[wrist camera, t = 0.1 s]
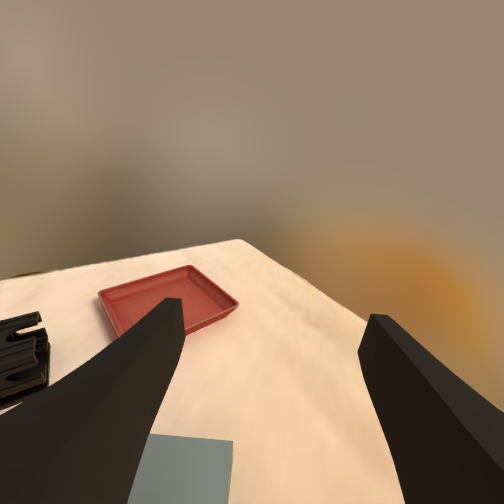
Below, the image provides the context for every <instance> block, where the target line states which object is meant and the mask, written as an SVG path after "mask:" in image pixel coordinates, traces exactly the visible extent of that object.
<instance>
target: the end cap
mask: <svg viewBox="0 0 504 504" xmlns="http://www.w3.org/2000/svg"><path fill="white" fill-rule="evenodd" d="M39 322H42V319H41V316H40V313H39V311H37V312H33V313H29V314H25V315H21V316H17V317H13V318H9V319H5V320H1V321H0V410H3V409H6V408H8V407H11V406H14V405H16V404H19V403H21V402H24V401H26V400H27V399H29V398H31V397H32V396H34V395H36V394H37V393H39V392H41V391H42V390H44V389H46V388H47V387H49V370H50V343H49V342H48V335H47V332H46V329H45V327H44V328H41V329H37V330H34V331H30V332H27V333H23V334H19V333H17V332H16V331H19V330H22V329H25V328H29V327H32V326H36V325H38V323H39Z"/></svg>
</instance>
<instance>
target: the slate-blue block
mask: <svg viewBox="0 0 504 504" xmlns="http://www.w3.org/2000/svg"><path fill="white" fill-rule="evenodd" d="M232 457H233V441H225V440H214V439H203V438H191V437H180V436H169V435H158V434H149V436H148V438H147V441H146V445H145V448H144V451H143V454H142V457H141V460H140V463H139V466H138V469H137V473H136V476H135V479H134V482H133V486H132V489H131V492H130V496H129V499H128V502H127V504H228V499H229V490H230V481H231V472H232Z"/></svg>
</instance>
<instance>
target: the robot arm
mask: <svg viewBox="0 0 504 504" xmlns="http://www.w3.org/2000/svg"><path fill="white" fill-rule="evenodd" d="M185 337H186V336H185V327H184V317H183V307H182V298H169V297H166V298H165V299H163V300H162V301H161V302H160V303H159V304H157V305H156V306H155V307H154V308H153V309H152V310H151V311H149V312H148V313H147V314H146V315H145V316H144V317H143V318H141V319H140V320H139V321H138V322H137V323H136V324H134V325H133V326H132V327H131V328H130V329H128V330H127V331H126V332H125V333H124V334H122V335H121V336H120V337H119V338H117V339H116V340H115V341H114V342H112V343H111V344H110V345H108V346H107V347H106V348H104V349H103V350H102V351H101V352H99V353H98V354H97V355H95V356H94V357H93V358H91V359H90V360H88V361H87V362H86V363H84V364H83V365H81V366H80V367H78V368H77V369H75V370H74V371H72V372H71V373H69V374H68V375H66V376H65V377H63V378H62V379H60V380H59V381H57V382H56V383H54V384H52V385H51V386H49V387H47V388H46V389H44V390H42V391H41V392H39V393H37V394H36V395H34V396H32V397H31V398H29V399H27V400H26V401H24V402H22V403H21V404H19V405H17V406H16V407H14V408H12V409H10V410H9V411H7V412H5V413H3V414H1V415H0V504H127V502H128V499H129V496H130V492H131V489H132V486H133V482H134V479H135V476H136V473H137V469H138V466H139V463H140V460H141V457H142V454H143V451H144V448H145V445H146V441H147V438H148V436H149V433H150V430H151V428H152V425H153V422H154V420H155V418H156V415H157V413H158V410H159V408H160V406H161V403H162V401H163V398H164V396H165V394H166V391H167V389H168V386H169V384H170V382H171V379H172V377H173V374H174V372H175V370H176V367H177V365H178V362H179V359H180V355H181V352H182V348H183V345H184V341H185ZM358 356H359V361H360V365H361V369H362V373H363V377H364V381H365V384H366V386H367V389H368V392H369V395H370V397H371V400H372V403H373V406H374V408H375V411H376V414H377V416H378V419H379V422H380V424H381V427H382V430H383V432H384V435H385V438H386V441H387V443H388V446H389V449H390V452H391V455H392V458H393V461H394V465H395V468H396V472H397V475H398V479H399V483H400V486H401V490H402V493H403V497H404V501H405V504H504V412H502V411H501V410H499V409H498V408H497V407H495V406H494V405H493V404H491V403H490V402H489V401H487V400H486V399H485V398H484V397H482V396H481V395H480V394H478V393H477V392H476V391H475V390H473V389H472V388H471V387H470V386H469V385H467V384H466V383H465V382H464V381H462V380H461V379H460V378H459V377H458V376H456V375H455V374H454V373H453V372H452V371H450V370H449V369H448V368H447V367H446V366H444V365H443V364H442V363H441V362H440V361H439V360H437V359H436V358H435V357H434V356H433V355H432V354H430V352H428V351H427V350H426V349H425V348H424V347H423V346H422V345H421V344H419V343H418V342H417V341H416V340H415V339H414V338H413V337H412V336H411V335H410V334H409V333H407V332H406V331H405V330H404V329H403V328H402V327H401V326H399V324H397V323H396V322H395V321H394V320H393V319H392V318H390V317H389V316H388V315H380V314H371V315H370V318H369V321H368V323H367V326H366V329H365V332H364V335H363V338H362V340H361V343H360V346H359V349H358Z"/></svg>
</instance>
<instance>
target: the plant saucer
mask: <svg viewBox="0 0 504 504" xmlns="http://www.w3.org/2000/svg"><path fill="white" fill-rule="evenodd" d="M98 296H99V298H100V300H101V302H102V304H103V306H104V308H105V311H106V312H107V315H108V317H109V319H110V321H111V323H112V325H113V327H114V330H115V331H116V334H117V336H118V338H119V337H120V336H121V335H122V334H124V333H125V332H126V331H127V330H128V329H130V328H131V327H132V326H133V325H134V324H136V323H137V322H138V321H139V320H140V319H141V318H143V317H144V316H145V315H146V314H147V313H148V312H149V311H151V310H152V309H153V308H154V307H155V306H156V305H157V304H159V303H160V302H161V301H162V300H163V299H165V298H166V297H169V298H182V307H183V317H184V327H185V335H188V334H190V333H192V332H194V331H196V330H198V329H201V328H203V327H205V326H207V325H209V324H211V323H214V322H216V321H218V320H220V319H222V318H224V317H226V316H227V315H228V314H230V313H231V312H232V311H234V310H235V309H236V308H237V307H238V306H239V303H238V301H236V300H235V299H234V298H232V297H231V296H230V295H229V294H227V293H226V292H225V291H224V290H223V289H221V288H220V287H219V286H218V285H216V284H215V283H214V282H213V281H211V280H210V279H209V278H208V277H206V276H205V275H204V274H203V273H201V272H200V271H199V270H197V269H196V268H195V267H194V266H192V265H186V266H183V267H179V268H176V269H172V270H169V271H165V272H162V273H159V274H155V275H152V276H148V277H145V278H141V279H138V280H135V281H131V282H128V283H124V284H121V285H118V286H114V287H110V288H107V289H104V290H101V291H99V292H98Z"/></svg>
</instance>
